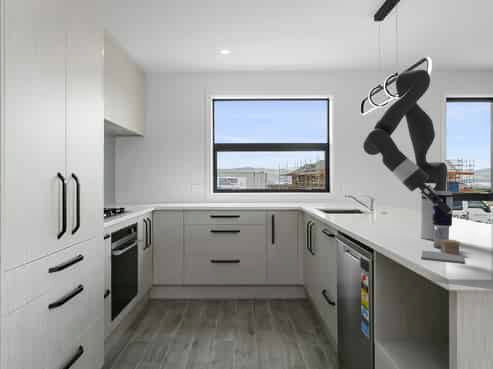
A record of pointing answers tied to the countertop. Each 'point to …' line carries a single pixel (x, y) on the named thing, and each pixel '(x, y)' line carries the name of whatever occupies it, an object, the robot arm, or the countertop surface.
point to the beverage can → (438, 215)
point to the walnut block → (450, 246)
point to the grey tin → (440, 236)
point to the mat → (442, 256)
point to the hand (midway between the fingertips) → (448, 211)
